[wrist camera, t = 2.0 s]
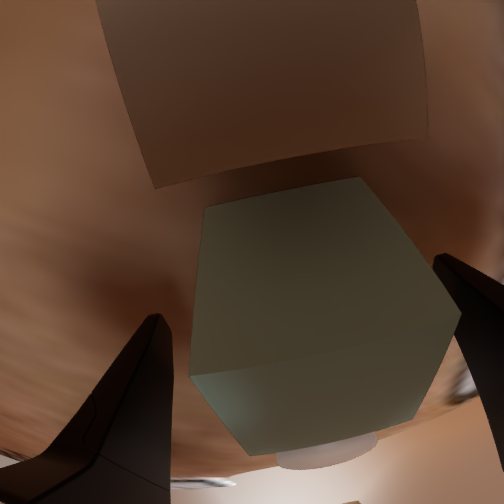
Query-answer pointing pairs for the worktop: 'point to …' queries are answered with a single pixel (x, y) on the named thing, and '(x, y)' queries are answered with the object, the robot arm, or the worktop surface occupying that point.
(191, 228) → the worktop surface
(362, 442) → the grey canister
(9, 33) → the worktop surface
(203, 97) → the walnut block
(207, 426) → the worktop surface
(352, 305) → the green block
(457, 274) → the robot arm
